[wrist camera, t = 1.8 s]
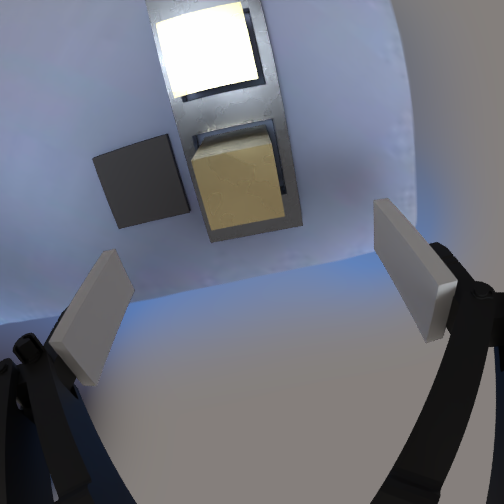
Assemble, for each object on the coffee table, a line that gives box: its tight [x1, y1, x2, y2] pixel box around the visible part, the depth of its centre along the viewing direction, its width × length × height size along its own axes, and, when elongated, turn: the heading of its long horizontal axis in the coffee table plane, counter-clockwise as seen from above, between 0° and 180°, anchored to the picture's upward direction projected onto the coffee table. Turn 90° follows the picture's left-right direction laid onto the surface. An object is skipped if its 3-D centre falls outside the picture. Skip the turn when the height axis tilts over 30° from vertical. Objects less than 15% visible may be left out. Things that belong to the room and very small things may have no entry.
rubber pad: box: [92, 134, 190, 229], centre depth 29 cm, size 8×8×1 cm
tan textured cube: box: [191, 125, 285, 230], centre depth 25 cm, size 6×6×8 cm
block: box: [156, 2, 258, 98], centre depth 20 cm, size 6×6×8 cm
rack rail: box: [145, 0, 303, 243], centre depth 25 cm, size 9×24×2 cm, turn 12°
